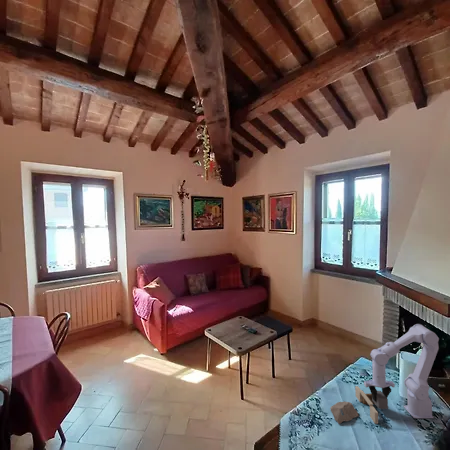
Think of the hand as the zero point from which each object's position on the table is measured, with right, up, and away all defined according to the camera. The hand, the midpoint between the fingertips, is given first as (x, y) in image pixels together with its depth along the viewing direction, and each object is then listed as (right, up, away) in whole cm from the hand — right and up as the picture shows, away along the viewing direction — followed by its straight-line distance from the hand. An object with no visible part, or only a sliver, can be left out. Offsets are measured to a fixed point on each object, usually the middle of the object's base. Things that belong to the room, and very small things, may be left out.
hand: (379, 399), depth 127 cm
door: (-2, -5, +4) cm, 7 cm away
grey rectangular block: (0, -2, 0) cm, 2 cm away
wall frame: (-6, -6, +1) cm, 8 cm away
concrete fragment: (-20, -6, -3) cm, 21 cm away
